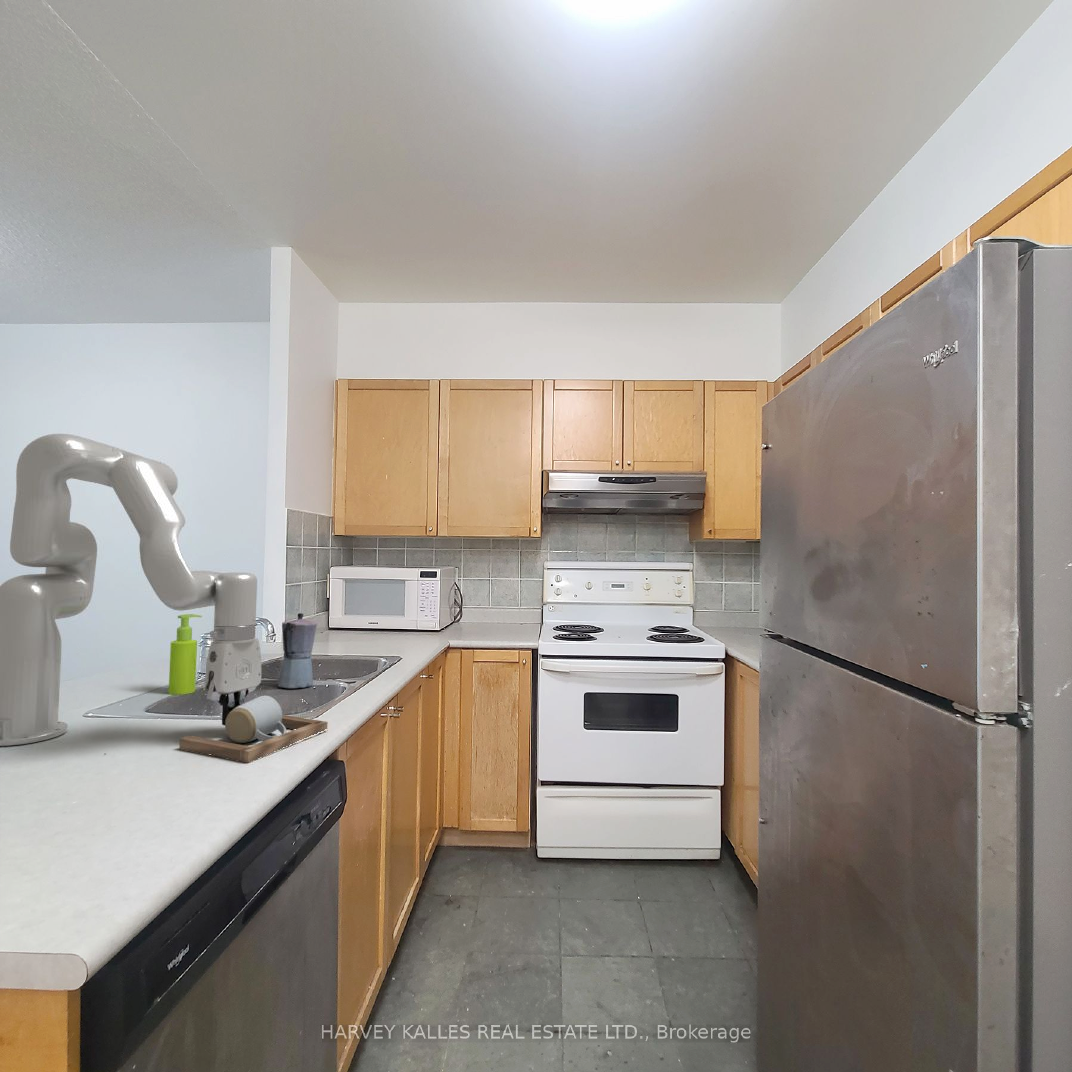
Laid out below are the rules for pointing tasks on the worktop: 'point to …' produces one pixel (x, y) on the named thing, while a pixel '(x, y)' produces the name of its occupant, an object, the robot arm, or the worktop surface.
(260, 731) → the ceramic mug
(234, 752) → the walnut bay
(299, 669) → the moka pot
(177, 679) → the soap dispenser
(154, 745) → the worktop surface
